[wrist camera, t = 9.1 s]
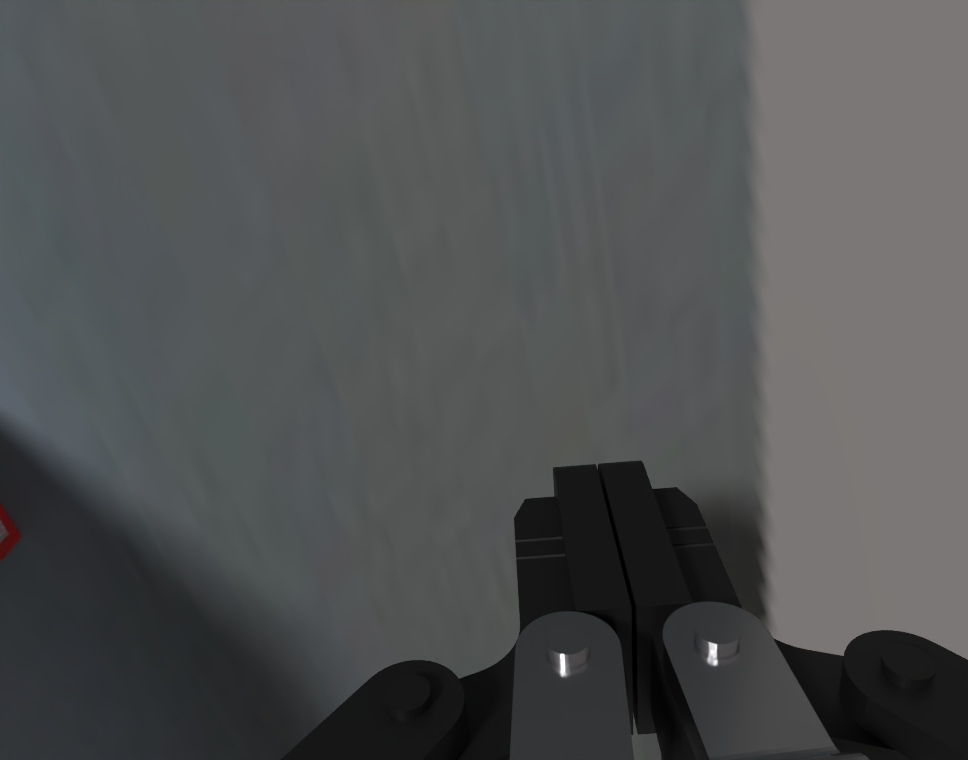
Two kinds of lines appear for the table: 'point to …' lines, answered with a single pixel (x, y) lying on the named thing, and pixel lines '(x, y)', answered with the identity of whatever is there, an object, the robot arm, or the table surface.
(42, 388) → the table surface
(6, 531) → the stack of blocks
